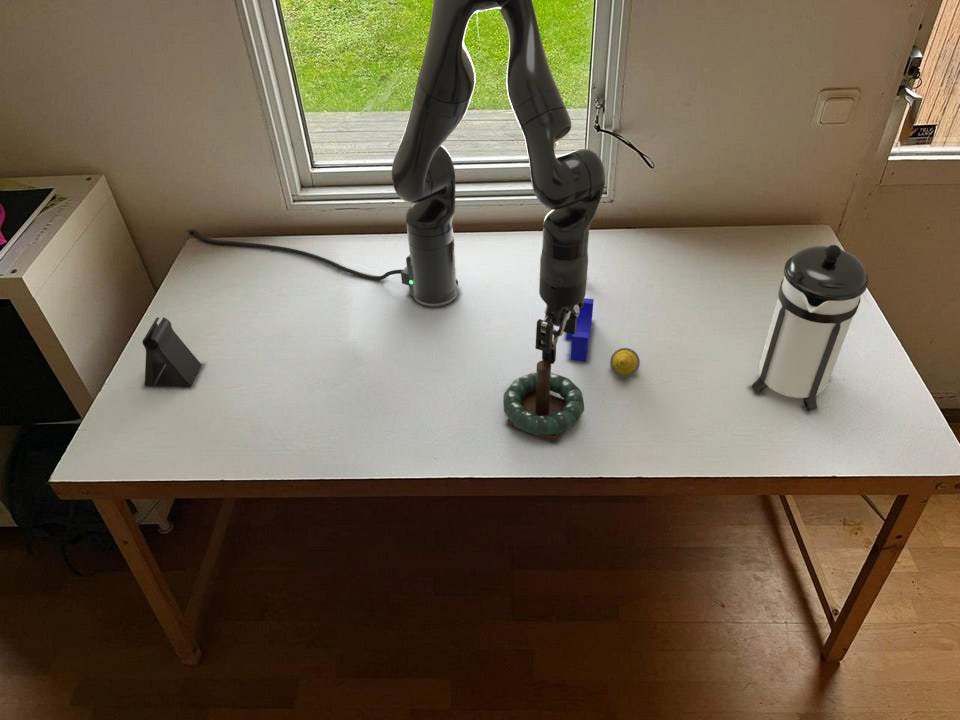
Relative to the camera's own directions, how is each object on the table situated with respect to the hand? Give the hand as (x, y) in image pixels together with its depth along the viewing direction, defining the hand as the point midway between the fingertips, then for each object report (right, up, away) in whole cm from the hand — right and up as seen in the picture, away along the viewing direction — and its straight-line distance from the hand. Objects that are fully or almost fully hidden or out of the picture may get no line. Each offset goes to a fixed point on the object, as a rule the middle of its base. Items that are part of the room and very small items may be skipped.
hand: (559, 346), depth 134 cm
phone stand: (-72, -5, +14) cm, 74 cm away
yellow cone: (+14, -5, +11) cm, 18 cm away
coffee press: (+43, -6, +9) cm, 45 cm away
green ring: (-3, -10, +2) cm, 10 cm away
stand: (-3, -12, +3) cm, 13 cm away
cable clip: (+6, +1, +19) cm, 20 cm away
